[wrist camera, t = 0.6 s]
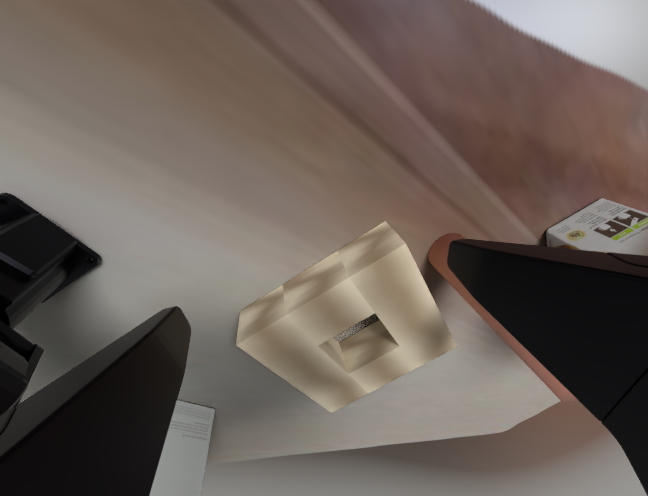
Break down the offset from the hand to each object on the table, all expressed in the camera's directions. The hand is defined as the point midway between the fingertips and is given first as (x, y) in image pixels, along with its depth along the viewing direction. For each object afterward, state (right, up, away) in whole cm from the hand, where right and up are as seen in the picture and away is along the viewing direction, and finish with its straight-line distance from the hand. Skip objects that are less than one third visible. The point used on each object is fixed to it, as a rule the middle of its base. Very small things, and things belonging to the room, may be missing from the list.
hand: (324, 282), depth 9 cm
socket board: (+3, -6, +20) cm, 21 cm away
